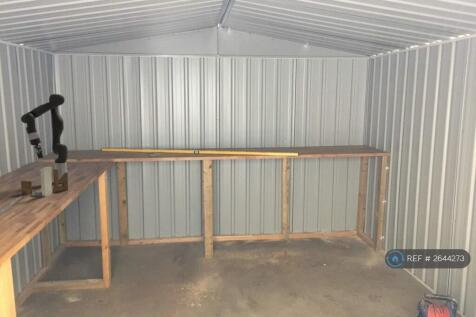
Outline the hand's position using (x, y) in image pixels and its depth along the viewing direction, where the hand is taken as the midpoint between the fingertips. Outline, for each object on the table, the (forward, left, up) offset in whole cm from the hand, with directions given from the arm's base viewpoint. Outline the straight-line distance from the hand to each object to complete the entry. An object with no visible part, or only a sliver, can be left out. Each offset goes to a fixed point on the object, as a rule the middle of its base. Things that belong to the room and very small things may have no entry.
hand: (40, 158), depth 332 cm
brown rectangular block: (+17, -1, -25) cm, 30 cm away
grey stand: (+17, +12, -25) cm, 32 cm away
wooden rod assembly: (+1, +17, -25) cm, 30 cm away
